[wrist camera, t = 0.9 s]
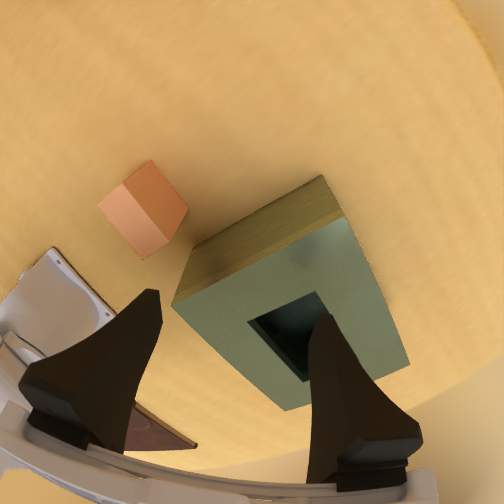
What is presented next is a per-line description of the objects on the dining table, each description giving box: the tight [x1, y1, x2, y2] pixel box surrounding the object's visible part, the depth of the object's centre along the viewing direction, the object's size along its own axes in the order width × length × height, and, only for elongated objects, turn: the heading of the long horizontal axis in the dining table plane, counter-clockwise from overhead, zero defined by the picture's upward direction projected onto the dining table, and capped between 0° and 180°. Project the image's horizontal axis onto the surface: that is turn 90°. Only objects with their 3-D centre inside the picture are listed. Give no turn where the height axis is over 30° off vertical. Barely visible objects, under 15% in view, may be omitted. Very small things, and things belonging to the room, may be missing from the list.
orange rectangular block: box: [97, 160, 189, 260], centre depth 19 cm, size 4×2×5 cm, turn 33°
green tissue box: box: [171, 175, 410, 411], centre depth 22 cm, size 14×11×7 cm
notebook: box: [124, 400, 198, 451], centre depth 42 cm, size 15×20×2 cm
